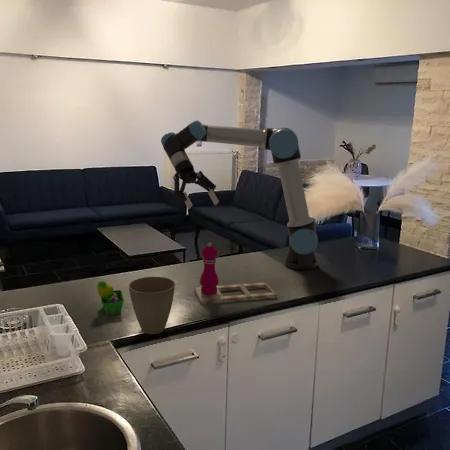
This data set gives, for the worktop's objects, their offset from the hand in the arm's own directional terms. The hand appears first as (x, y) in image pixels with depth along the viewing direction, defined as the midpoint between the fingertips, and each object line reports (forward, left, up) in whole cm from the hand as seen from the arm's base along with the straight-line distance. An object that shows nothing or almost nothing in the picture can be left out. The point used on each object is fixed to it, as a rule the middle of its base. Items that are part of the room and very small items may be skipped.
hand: (203, 205), depth 205 cm
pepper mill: (+2, +18, -31) cm, 36 cm away
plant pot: (+26, +43, -33) cm, 60 cm away
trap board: (-9, +18, -33) cm, 38 cm away
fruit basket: (+39, +23, -33) cm, 56 cm away
